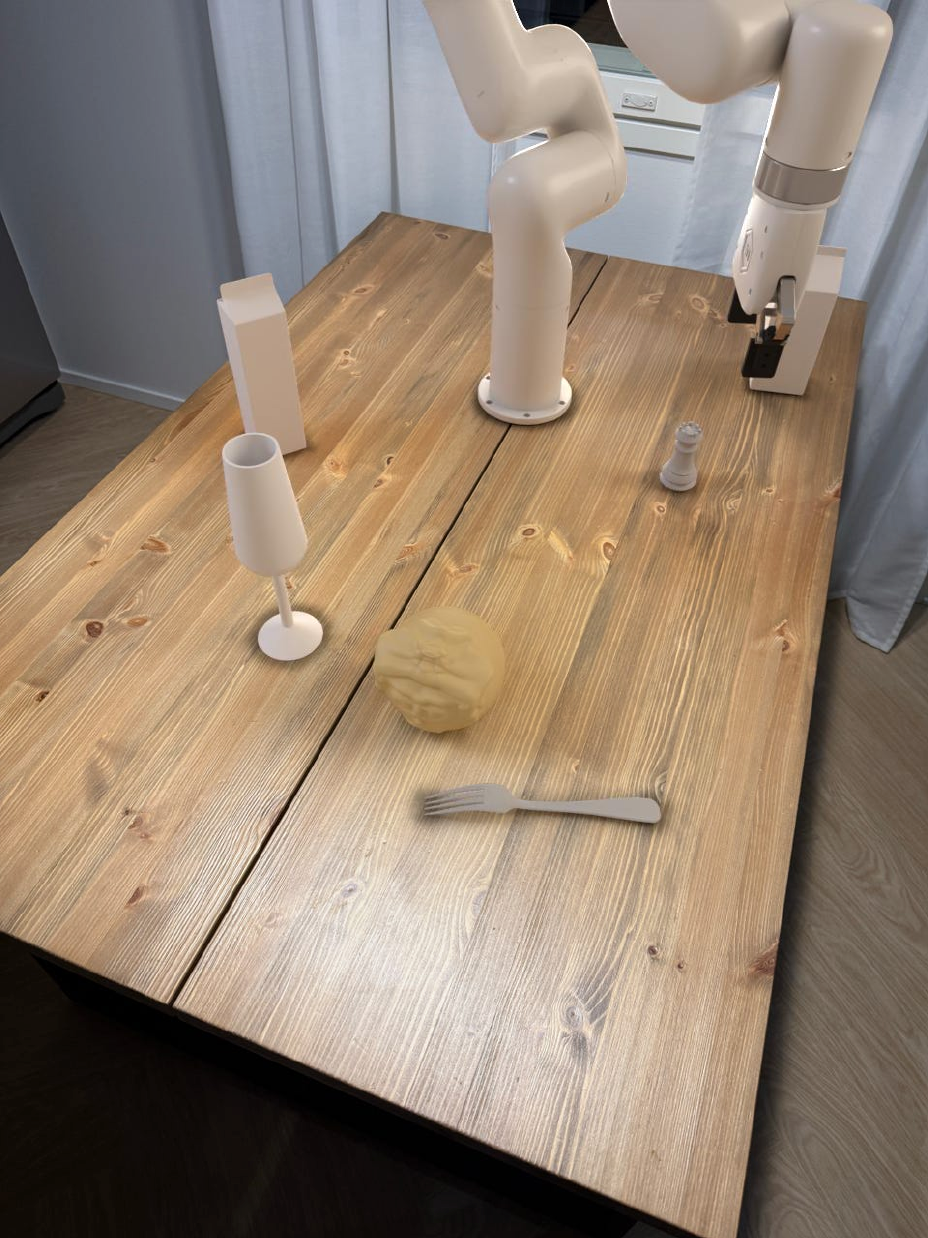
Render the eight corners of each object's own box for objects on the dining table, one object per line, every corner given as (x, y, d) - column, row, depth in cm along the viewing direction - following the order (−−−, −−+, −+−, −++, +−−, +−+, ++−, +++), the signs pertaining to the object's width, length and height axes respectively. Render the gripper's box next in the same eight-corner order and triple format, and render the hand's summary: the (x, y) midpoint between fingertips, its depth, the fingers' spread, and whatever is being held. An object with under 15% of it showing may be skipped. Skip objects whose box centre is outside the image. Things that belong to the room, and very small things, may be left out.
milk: (307, 448, 112) (283, 284, 96) (261, 462, 110) (229, 298, 94) (288, 422, 116) (262, 259, 99) (244, 435, 114) (210, 272, 97)
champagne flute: (270, 669, 89) (223, 485, 71) (248, 624, 93) (199, 438, 75) (332, 646, 91) (303, 461, 73) (309, 603, 95) (275, 417, 77)
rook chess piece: (699, 475, 110) (714, 422, 103) (690, 497, 107) (704, 444, 101) (664, 465, 111) (677, 412, 105) (654, 486, 108) (666, 433, 102)
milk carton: (802, 396, 121) (849, 262, 106) (749, 390, 121) (788, 255, 107) (800, 367, 125) (845, 234, 111) (748, 361, 126) (786, 228, 112)
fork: (654, 839, 80) (663, 824, 78) (423, 820, 78) (426, 805, 76) (650, 811, 82) (659, 796, 80) (425, 792, 80) (428, 776, 78)
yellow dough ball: (363, 728, 85) (353, 657, 77) (415, 638, 92) (411, 565, 84) (475, 767, 82) (477, 699, 74) (519, 672, 89) (525, 599, 81)
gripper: (741, 132, 83) (701, 301, 96) (774, 218, 72) (723, 397, 85) (822, 135, 83) (771, 304, 96) (868, 222, 71) (802, 401, 84)
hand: (749, 348), depth 90 cm, fingers open, 9 cm apart
